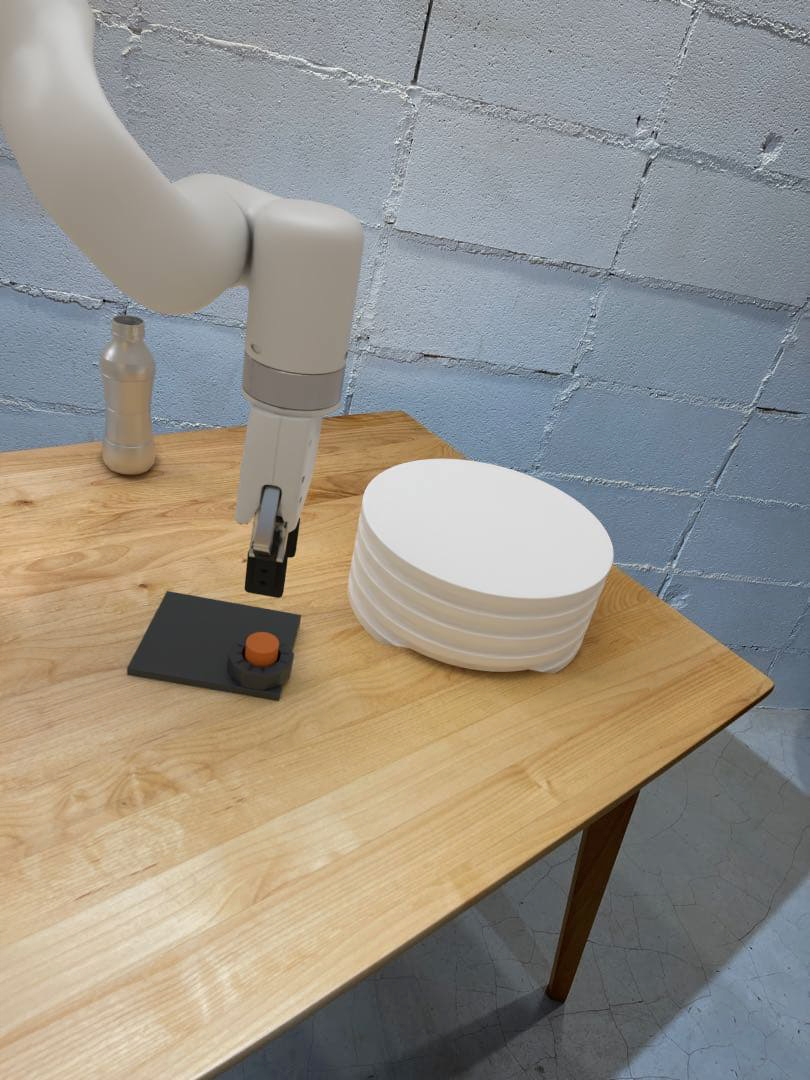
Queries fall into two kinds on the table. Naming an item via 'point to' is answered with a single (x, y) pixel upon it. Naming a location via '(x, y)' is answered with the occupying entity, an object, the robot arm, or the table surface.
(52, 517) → the table surface
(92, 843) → the table surface
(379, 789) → the table surface
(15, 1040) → the table surface
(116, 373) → the plastic bottle
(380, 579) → the plate stack
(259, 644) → the button
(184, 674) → the scale
